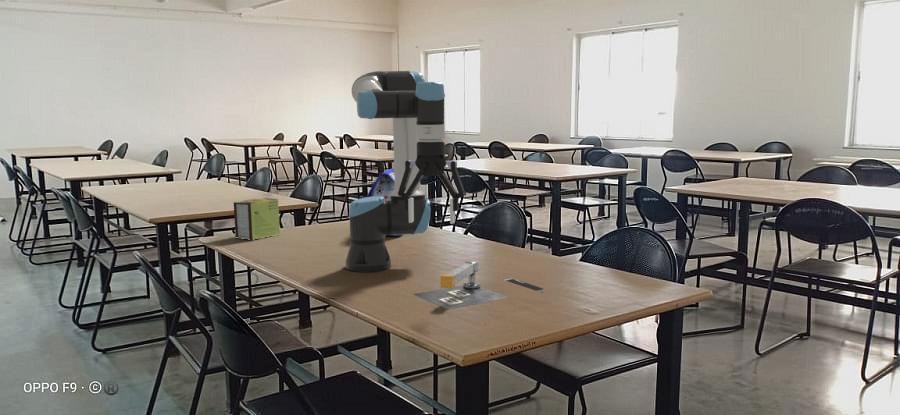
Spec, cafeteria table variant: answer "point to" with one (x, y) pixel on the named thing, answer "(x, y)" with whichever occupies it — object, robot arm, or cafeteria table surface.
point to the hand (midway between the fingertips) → (431, 222)
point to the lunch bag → (384, 186)
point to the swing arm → (459, 274)
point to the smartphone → (525, 285)
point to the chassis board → (470, 287)
